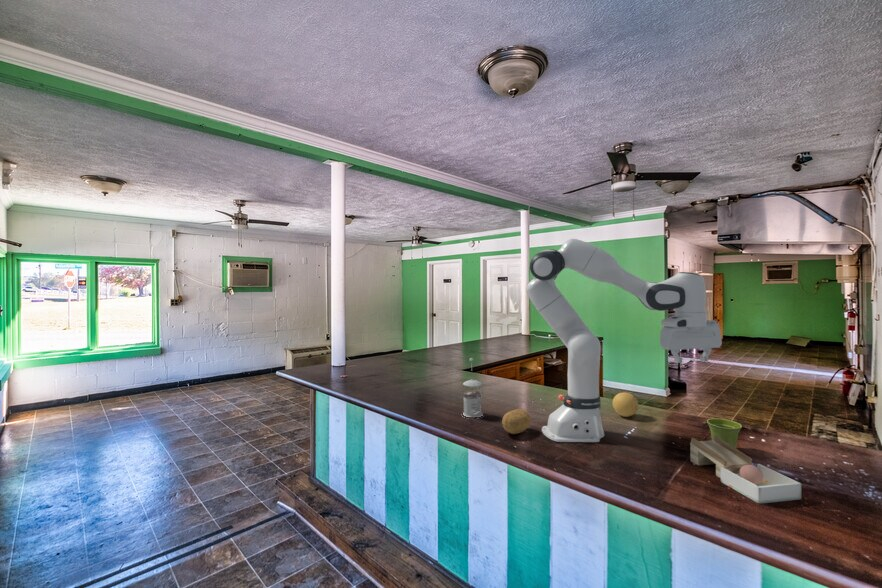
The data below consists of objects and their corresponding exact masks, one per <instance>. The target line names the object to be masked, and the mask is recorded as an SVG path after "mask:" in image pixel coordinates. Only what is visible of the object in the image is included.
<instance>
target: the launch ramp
mask: <svg viewBox="0 0 882 588" xmlns="http://www.w3.org/2000/svg"><path fill="white" fill-rule="evenodd" d="M689 445H690V446H689V447H690V451H689V452H690V458H689V459H690V462H691V463H693V464H695V465H697V466H709V465H715V476H716V477H717V478H720V479H721V467H723V468H725V469H727V470H729V471H731V472H732V473H734V474H739V473H740V469H741V467H742V466H744V465H753V462H752V461H753V458H751V457H750V456H748V455H746V454H745V453H744V452H742V451H741V450H739V449H738V448H737V447H736V448H734V447H733V446H731V445H730V444H728V443H727V442H725V441H724V440H722V439H720V438H719V437H717V436H714V440H712V439H711V440H698V439H697V438H695V437H691V440H690V443H689Z"/></svg>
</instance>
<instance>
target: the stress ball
mask: <svg viewBox="0 0 882 588" xmlns="http://www.w3.org/2000/svg"><path fill="white" fill-rule="evenodd" d="M612 407H613V409H614V411H615V412H616V413H617V414H618V415H619V416H621V417H623V418H629V417H632V416H634V415H635V414H636V413H637V412H638V410H639V409H640V407H639V402H638V399H637V397H635V396H634V395H633V394H632V393H630V392H619V393H617V394H616V395H614V397H613V399H612Z"/></svg>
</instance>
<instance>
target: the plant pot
mask: <svg viewBox="0 0 882 588" xmlns="http://www.w3.org/2000/svg"><path fill="white" fill-rule="evenodd" d="M706 423H707V424H708V428H709V430H710V437H711V440H714V436H717V437H719V438H720V439H722V440H724V441H725V442H727V443H728V444H730V445H731V446H733V447H734V448H736V449H737V443H738V438H739V433H740V431H741V429H742V428H743V426H742V424H741V423H739V422H736V421H733V420H729V419H726V418H725V419H724V418H708V419H707V420H706Z"/></svg>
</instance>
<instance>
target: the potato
mask: <svg viewBox="0 0 882 588" xmlns="http://www.w3.org/2000/svg"><path fill="white" fill-rule="evenodd" d="M530 424H531V417H530V414H529V413H528V412H527V411H526V410H525V409H523V408H516V409H513V410H510V411H508V412H506V413H505V414H504V415H503V417H502V420H501V425H502V427H503V429H504V430H505V431H506V432H507V433H509V434H510V435H516V434H520V433H523V432H525V431H526V430H527V429H528V428H529V427H530V426H531V425H530Z"/></svg>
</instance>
